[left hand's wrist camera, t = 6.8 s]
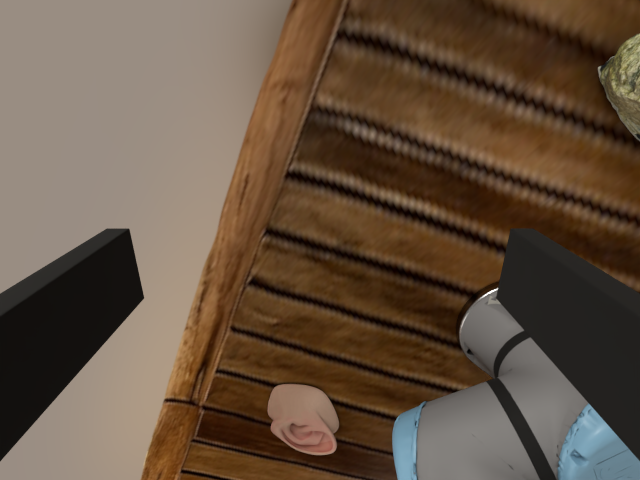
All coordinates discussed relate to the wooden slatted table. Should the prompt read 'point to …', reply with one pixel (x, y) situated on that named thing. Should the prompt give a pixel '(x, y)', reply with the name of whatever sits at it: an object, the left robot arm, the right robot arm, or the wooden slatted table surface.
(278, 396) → the anatomical model
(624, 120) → the fossil
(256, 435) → the wooden slatted table surface
